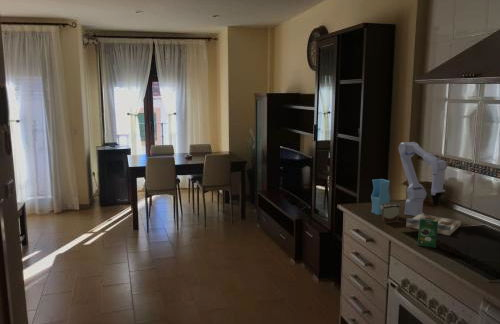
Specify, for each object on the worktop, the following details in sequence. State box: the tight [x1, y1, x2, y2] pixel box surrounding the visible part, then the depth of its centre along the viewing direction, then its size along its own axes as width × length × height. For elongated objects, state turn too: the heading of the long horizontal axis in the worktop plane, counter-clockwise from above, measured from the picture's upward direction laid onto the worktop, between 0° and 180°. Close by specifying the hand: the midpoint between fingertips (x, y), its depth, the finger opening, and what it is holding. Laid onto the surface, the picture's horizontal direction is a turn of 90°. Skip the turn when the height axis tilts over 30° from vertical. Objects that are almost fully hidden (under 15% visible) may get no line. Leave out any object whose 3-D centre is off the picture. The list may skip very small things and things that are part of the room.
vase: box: [370, 178, 391, 216], centre depth 252 cm, size 8×8×20 cm
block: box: [425, 215, 435, 220], centre depth 222 cm, size 4×4×4 cm
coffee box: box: [417, 218, 438, 249], centre depth 197 cm, size 8×3×13 cm, turn 68°
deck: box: [405, 213, 462, 236], centre depth 228 cm, size 22×22×4 cm
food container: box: [380, 202, 401, 224], centre depth 237 cm, size 12×6×10 cm, turn 110°
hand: (435, 205), depth 235 cm, fingers closed
